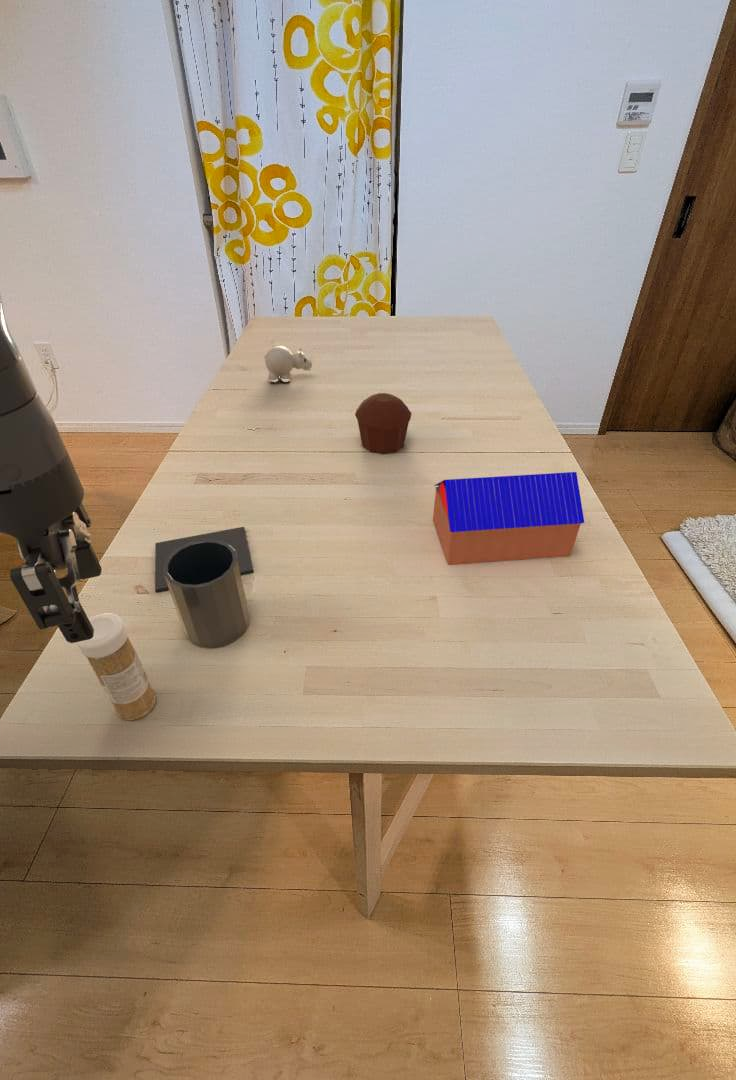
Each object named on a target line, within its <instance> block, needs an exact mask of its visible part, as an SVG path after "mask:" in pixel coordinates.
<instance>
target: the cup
mask: <svg viewBox="0 0 736 1080" xmlns="http://www.w3.org/2000/svg"><path fill="white" fill-rule="evenodd" d="M164 576H165V579H166V582H167V585H168V588H169V590H168V591H169V593H170V596H171V599H172V601H173V605H174V608H175V610H176V613H177V616H178V619H179V622H180V625H181V628H182V631H183V632H184V634H185V636H186V639H187V640H188V641H189V642H190V643H191V644H193V645H195V646H197V647H199V648H204V649H205V648H206V649H216V648H222V647H224V646H227V645H229V644H232V643H234V642H235V641H237V640H239V638H240V637H242V636H243V635H244V634H245V632H246V631H247V629H248V628H249V625H250V621H251V616H250V615H251V614H250V611H249V606H248V605H249V604H248V600H247V595H246V592H245V587H244V583H243V579H242V575H241V573H240V569H239V564H238V560H237V555H236V551H235V550H234V549H233V548H232V547H231V546H230V545H229V544H226V543H224V542H221V541H218V540H201V541H196V542H191V543H189V544H187V545H185V546H182V547H180V548H178V549H177V550H176V551H175V552H173V553H172V554H171V555H170V556H169V557H168V559H167V560H166V562H165V564H164Z"/></svg>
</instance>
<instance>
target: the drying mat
mask: <svg viewBox="0 0 736 1080" xmlns="http://www.w3.org/2000/svg"><path fill="white" fill-rule="evenodd" d="M201 540H218V541H221V542H224V543H226V544H229V545H230V546H231V547H232V548H233V549H234V550H235V551H236V555H237V560H238V564H239V569H240V573H241V576H242V575H248V574H253V573H254V567H253V562H252V557H251V552H250V547H249V543H248V537H247V533H246V528H245V526H241V527H235V528H229V529H224V530H218V531H213V532H208V533H203V534H196V535H192V536H185V537H181V538H174V539H169V540H164V541H158V542H155V544H154V545H155V546H154V547H155V548H154V552H155V553H154V554H155V555H154V591H155V593H160V592H165V591H169V588H168V585H167V582H166V579H165V576H164V564H165V562H166V560H167V559H168V557H169V556H170V555H171V554H172V553H173V552H175V551H176V550H177V549H178V548H180V547H182V546H185V545H187V544H189V543H191V542H196V541H201Z"/></svg>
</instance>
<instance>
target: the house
mask: <svg viewBox="0 0 736 1080" xmlns="http://www.w3.org/2000/svg"><path fill="white" fill-rule="evenodd" d="M433 486H434V487H435V494H434V503H433V515H432V522H433V525H434V527H435V531H436V534H437V537H438V539H439V542H440V546H441V550H442V552H443V554H444V558H445V561H446V564H447V565H448V566H449V565H464V564H475V563H476V564H477V563H489V562H503V561H504V562H505V561H517V560H530V559H531V560H532V559H544V558H559V557H560V558H561V557H570V556H571V555H572V552H573V549H574V546H575V542H576V539H577V537H578V533H579V530H580V527H581V524H585V517H584V511H583V505H582V499H581V493H580V492H581V491H580V486H579V481H578V474H577V471H570V472H569V471H566V472H552V473H551V472H550V473H536V474H533V473H532V474H517V475H503V476H502V475H501V476H485V477H467V478H454V479H453V478H452V479H443V480H441V481H439V482H438V483H436V484H434V485H433Z"/></svg>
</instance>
